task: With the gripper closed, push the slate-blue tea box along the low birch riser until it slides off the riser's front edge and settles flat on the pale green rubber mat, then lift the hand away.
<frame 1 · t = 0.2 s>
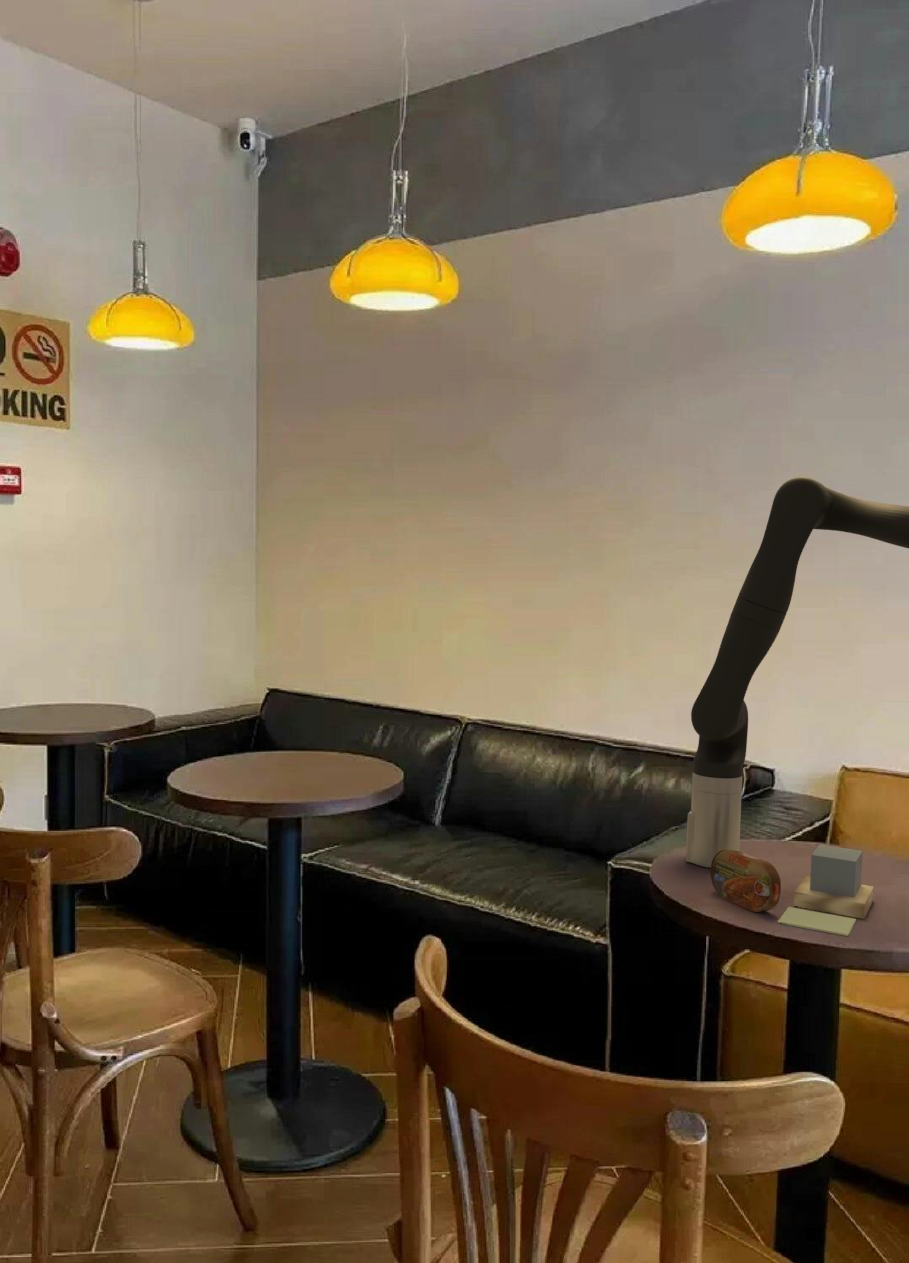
riser: (834, 903, 170), on the table
tin: (744, 905, 169), on the table
mat: (817, 922, 161), on the table
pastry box: (835, 887, 171), point 2 cm above the table, touching riser
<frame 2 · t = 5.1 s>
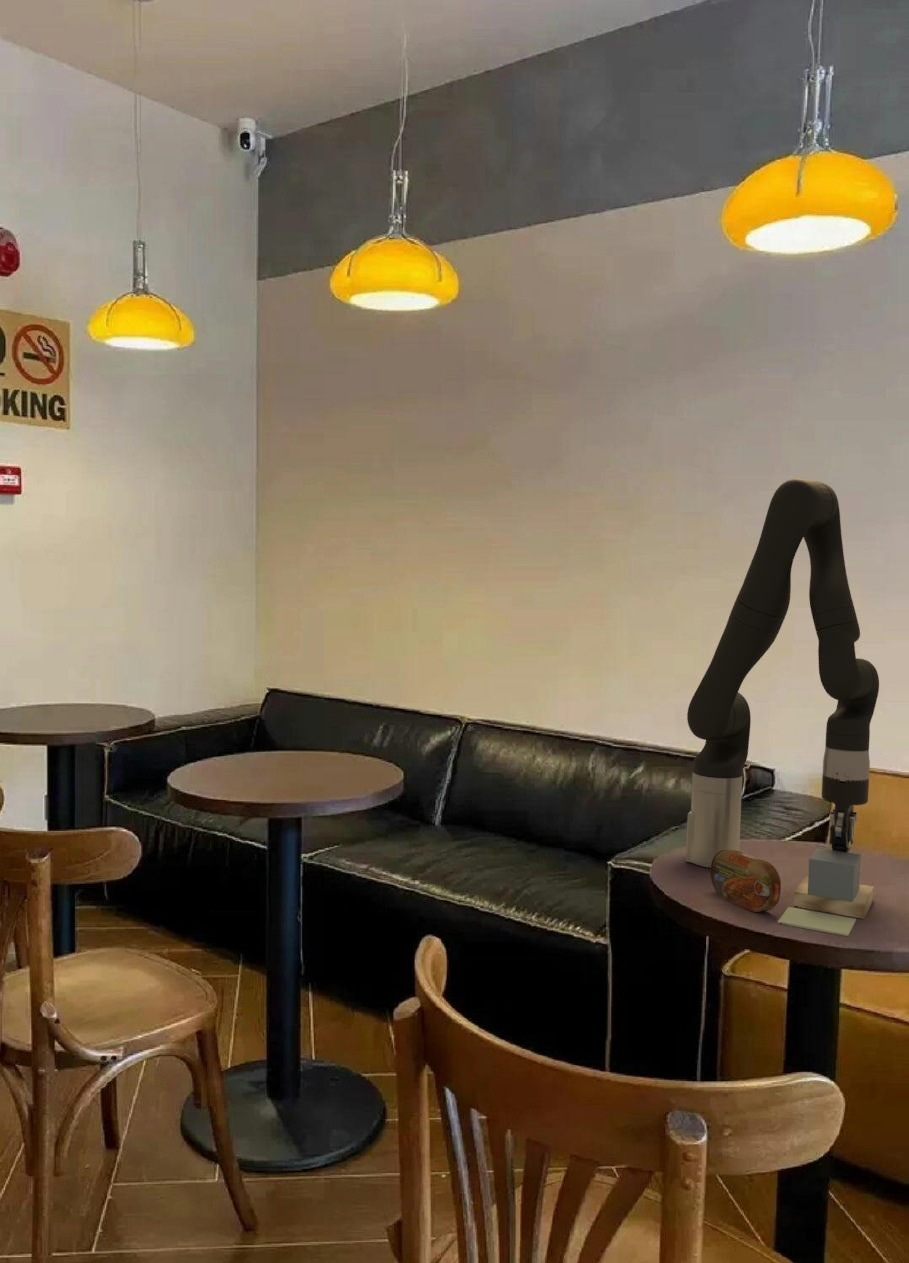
hand: (840, 873, 175), 4 cm above the table, tool pointing down, fingers closed
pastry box: (833, 892, 169), point 2 cm above the table, touching gripper, riser
everything else where it was.
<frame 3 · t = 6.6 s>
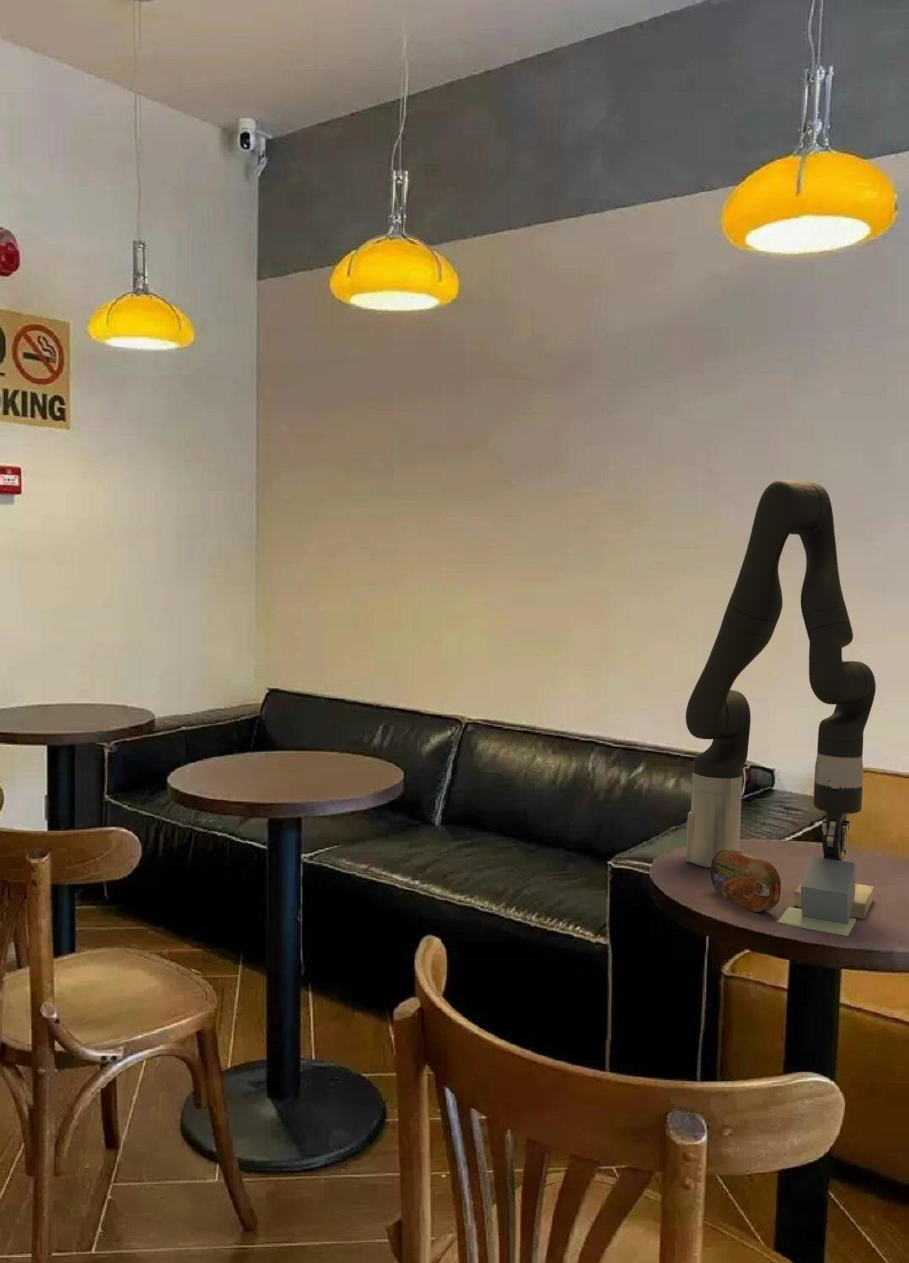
hand: (833, 884, 168), 4 cm above the table, tool pointing down, fingers closed
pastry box: (828, 904, 164), point 2 cm above the table, tilted 23°, touching hand
everything else where it was.
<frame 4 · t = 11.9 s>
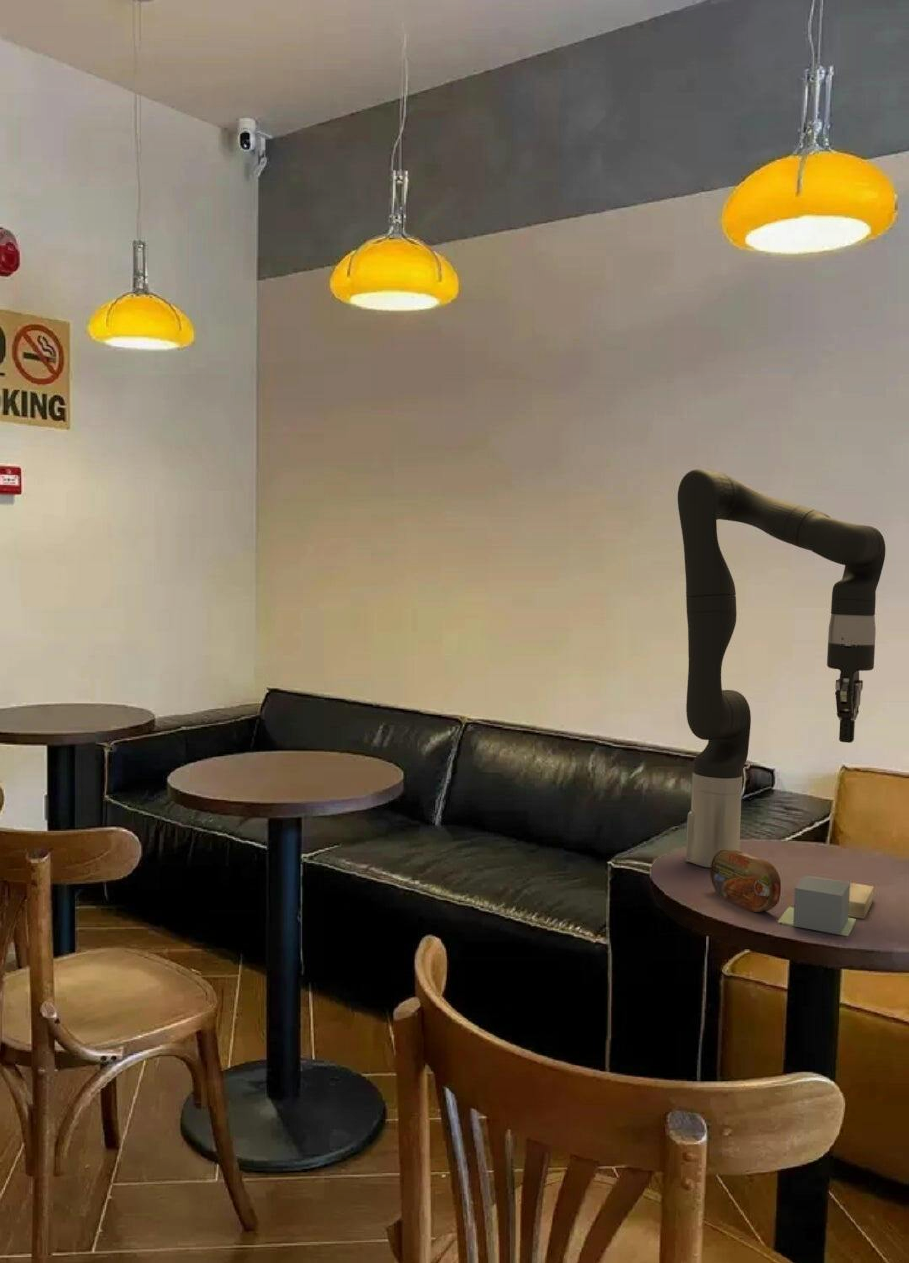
hand: (846, 741, 173), 27 cm above the table, tool pointing down, fingers closed
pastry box: (820, 922, 160), resting on mat
everything else where it was.
at the end: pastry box inside the target area on the mat (1.1 cm from its centre), point 0.3 cm above the mat's base; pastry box tilted 0°; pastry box touching mat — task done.
